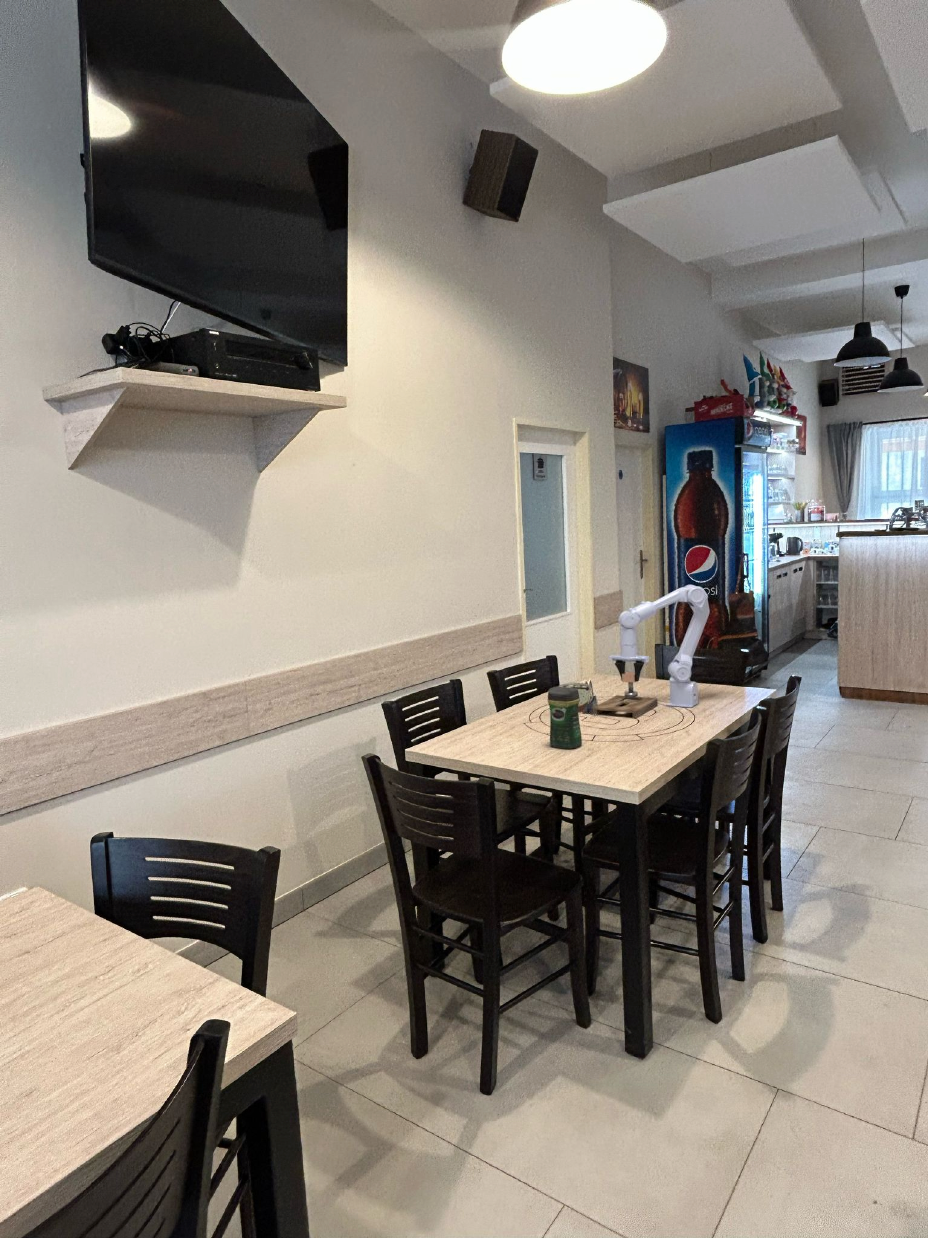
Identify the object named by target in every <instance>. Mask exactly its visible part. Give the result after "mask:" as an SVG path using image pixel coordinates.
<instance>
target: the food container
mask: <svg viewBox="0 0 928 1238" xmlns="http://www.w3.org/2000/svg"><path fill="white" fill-rule="evenodd" d="M557 687H569V688H577V689H578V692H579V697H580V702H579V705H578V714H582V713H581V712H583V710H584V708H585V707H586V705H587V704H589V703H590V691H592V688H591V685H590V684H589V683H584V682H567V683H562V684H559V685H557ZM589 705H590V704H589Z"/></svg>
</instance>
